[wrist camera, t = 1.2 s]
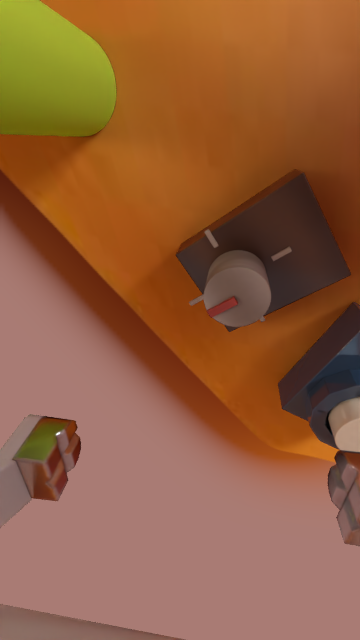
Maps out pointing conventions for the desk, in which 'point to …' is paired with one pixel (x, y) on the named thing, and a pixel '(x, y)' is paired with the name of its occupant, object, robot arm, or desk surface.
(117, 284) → the desk surface
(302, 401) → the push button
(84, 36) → the soap dispenser
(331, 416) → the round beige disc
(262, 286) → the lock dial
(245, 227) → the dial base
